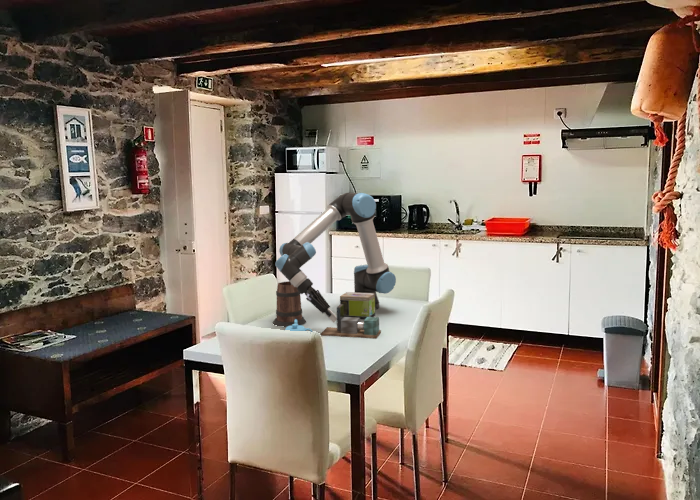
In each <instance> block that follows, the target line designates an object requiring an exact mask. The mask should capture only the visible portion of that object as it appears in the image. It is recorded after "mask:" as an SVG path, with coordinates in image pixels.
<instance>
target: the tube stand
mask: <svg viewBox="0 0 700 500" xmlns="http://www.w3.org/2000/svg"><path fill="white" fill-rule="evenodd" d="M357 322H360V318H356V317H344V318H343V319H342V320H341V331H337V327H332V326H331V327H326V328H324V330H322V332H320V336H322V337H323V336H327V337H340V338H341V337H342V338H361V339H378V337H379V336H380V335H381V333H382V330H381V329H380V317H378V316H375V317H367V318H366V319H365V320H364V330H357Z"/></svg>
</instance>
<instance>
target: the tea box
mask: <svg viewBox="0 0 700 500" xmlns="http://www.w3.org/2000/svg"><path fill="white" fill-rule="evenodd" d="M340 304H344V317H356V318H360V322H364V320H365V319H366V318H367V317H376V309H375V293H356V292H355V291H353V292H350V291H345V293H342V295H340V296H339V305H340Z"/></svg>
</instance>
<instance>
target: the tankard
mask: <svg viewBox="0 0 700 500" xmlns="http://www.w3.org/2000/svg"><path fill="white" fill-rule="evenodd" d="M275 294H276V310H275V315H276V317H275V319H273V320H274V321H273V322H272V323H273V324H274V325H273V324H272V325H273V326H275V325H277V326H276V327H278V326H284V327H283V328H286V327H287V326H292V324H294V320H295V319H297V323H298V325H302V326H304V325H305V324H307V320H306V319H305V317H304V316H303V308H302V302H301V301H302V300H301V298H302V297H301V294H300V292H299V291H298V290H297V287H294V286H293V285H291V282H290V281H289V280H288V281H282V282H278V283H277V287H276V291H275Z"/></svg>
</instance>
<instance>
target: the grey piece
mask: <svg viewBox="0 0 700 500" xmlns="http://www.w3.org/2000/svg"><path fill="white" fill-rule="evenodd" d="M336 316H337V320H336V328H337V331H341V320H342V319H343V318H344V304H340V303H339V305H337V307H336ZM357 330H364V322H357Z"/></svg>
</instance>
